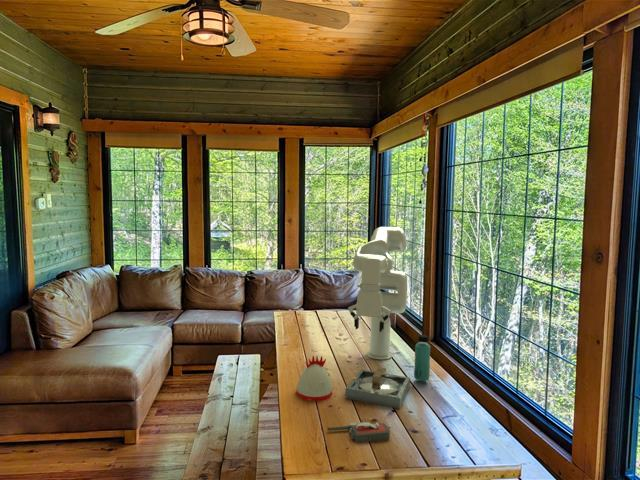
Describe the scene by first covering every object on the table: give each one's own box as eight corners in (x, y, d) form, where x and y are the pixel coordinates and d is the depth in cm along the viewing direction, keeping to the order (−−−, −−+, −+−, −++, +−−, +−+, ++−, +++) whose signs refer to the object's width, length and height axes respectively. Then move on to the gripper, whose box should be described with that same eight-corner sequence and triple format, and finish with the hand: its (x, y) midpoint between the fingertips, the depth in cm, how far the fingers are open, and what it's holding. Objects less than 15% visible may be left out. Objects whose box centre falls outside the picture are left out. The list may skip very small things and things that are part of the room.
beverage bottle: (430, 380, 188) (432, 334, 187) (428, 386, 182) (430, 338, 180) (414, 377, 190) (416, 332, 189) (412, 383, 184) (414, 336, 182)
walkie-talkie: (384, 426, 149) (326, 431, 145) (385, 414, 148) (326, 418, 144) (393, 440, 140) (332, 445, 136) (394, 427, 140) (332, 432, 136)
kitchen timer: (335, 400, 167) (336, 361, 166) (299, 402, 165) (299, 363, 163) (328, 385, 181) (329, 349, 179) (295, 386, 178) (295, 350, 177)
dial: (364, 376, 185) (365, 362, 184) (402, 382, 179) (403, 368, 178) (353, 391, 170) (353, 376, 169) (394, 398, 164) (395, 383, 164)
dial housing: (360, 378, 188) (360, 368, 188) (409, 387, 180) (410, 377, 180) (345, 398, 169) (345, 387, 168) (399, 408, 161) (400, 397, 161)
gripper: (347, 287, 174) (345, 330, 175) (391, 290, 170) (389, 334, 171) (351, 284, 182) (349, 325, 183) (393, 287, 177) (391, 329, 178)
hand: (368, 329), depth 177 cm, fingers open, 9 cm apart
